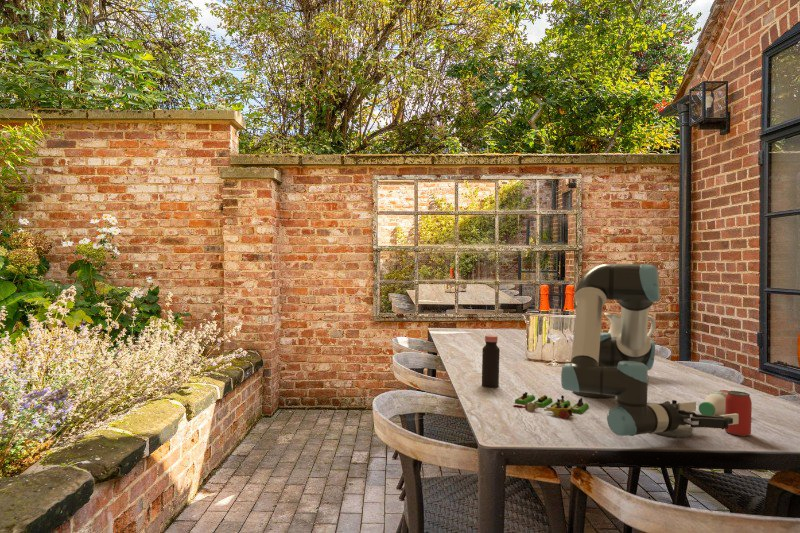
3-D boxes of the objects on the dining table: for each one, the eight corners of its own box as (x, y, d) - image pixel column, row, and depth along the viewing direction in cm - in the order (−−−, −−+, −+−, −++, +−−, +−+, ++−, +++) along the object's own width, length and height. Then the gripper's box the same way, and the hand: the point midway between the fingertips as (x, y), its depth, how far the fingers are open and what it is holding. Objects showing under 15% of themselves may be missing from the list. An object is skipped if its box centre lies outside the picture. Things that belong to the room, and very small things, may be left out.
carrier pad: (649, 434, 155) (649, 429, 155) (645, 423, 166) (645, 418, 166) (696, 439, 151) (696, 434, 151) (688, 427, 162) (688, 423, 162)
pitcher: (609, 376, 240) (610, 314, 240) (596, 369, 257) (598, 311, 257) (663, 378, 239) (664, 316, 239) (647, 370, 256) (648, 312, 256)
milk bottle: (730, 416, 183) (706, 426, 171) (711, 398, 188) (687, 407, 175) (747, 402, 179) (724, 412, 167) (728, 384, 184) (704, 392, 171)
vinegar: (498, 384, 218) (499, 335, 218) (499, 388, 211) (500, 337, 211) (481, 383, 218) (482, 334, 218) (482, 387, 212) (483, 336, 212)
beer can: (726, 428, 163) (727, 389, 163) (752, 433, 159) (753, 393, 159) (722, 433, 158) (723, 392, 158) (749, 438, 154) (750, 396, 154)
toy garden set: (588, 409, 184) (589, 395, 184) (574, 421, 168) (574, 407, 168) (524, 398, 197) (524, 386, 197) (505, 409, 181) (505, 396, 181)
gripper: (625, 418, 159) (678, 413, 166) (698, 445, 136) (756, 438, 143) (625, 393, 159) (679, 389, 166) (698, 416, 136) (757, 410, 143)
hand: (715, 412), depth 155 cm, fingers open, 13 cm apart
